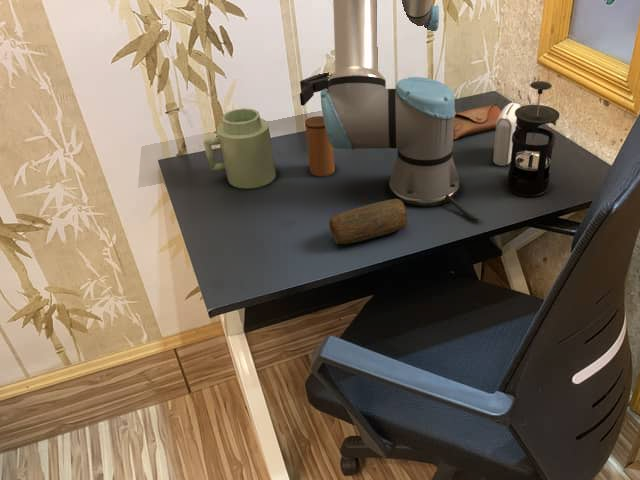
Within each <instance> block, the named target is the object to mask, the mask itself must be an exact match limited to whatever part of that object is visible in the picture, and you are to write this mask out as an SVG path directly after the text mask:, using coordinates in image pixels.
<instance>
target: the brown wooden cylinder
mask: <svg viewBox="0 0 640 480" xmlns="http://www.w3.org/2000/svg"><path fill="white" fill-rule="evenodd" d="M407 225H408V212H407V209H406V206H405V203H403V202H402V201H401V200H399V199H395V198H392V199H386V200H383V201H378V202H375V203H371V204H367V205H364V206H359V207H355V208H353V209H349V210H346V211H343V212H340V213H338V214H335V215H334V216H332V217H331V218H330V219H329V220H328V226H329V230H330V232H331V235H332V237H333V239H334V242H335V244H336V245H349V244H352V243H360V242H363V241H367V240H370V239H375V238H378V237H383V236H385V235H389V234H391V233H394V232H398V231H400V230H403V229H404V228H405V227H406V226H407Z"/></svg>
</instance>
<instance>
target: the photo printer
mask: <svg viewBox="0 0 640 480" xmlns="http://www.w3.org/2000/svg"><path fill="white" fill-rule="evenodd" d="M519 107H522V106H521V105H520V104H519V103H516V102H510V103H508V104H507V105H505V106H504V107H503V109H502V110H500V111H501V113H500V115H499V117H498V119H497V123H496V130H495V132H494V133H495V134H494V145H493V157H492V162H493V163H494V164H495V165H497V166H502V167H506V166H508V165H509V164H510V163H511V154H512V145H513V143H512V134H513V132H514V131H515V128H516V126H517V124H516V118H517V117H516V116H515V111H516V109H517V108H519Z"/></svg>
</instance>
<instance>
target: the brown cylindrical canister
mask: <svg viewBox="0 0 640 480" xmlns="http://www.w3.org/2000/svg"><path fill="white" fill-rule="evenodd" d="M304 126H305V136H306V144H307V153H308V163H309V170H310V174H311V175H313V176H316V177H328V176H330V175H333V173H334V172H335V170H336V169H335V168H336V167H335V157H334V147H333V146H332V145H331V144H330V142H329V140H328V137H327V133H326V129H325V125H324V120H323V115H314V116H310V117H307V118H306V119H305V120H304Z"/></svg>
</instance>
